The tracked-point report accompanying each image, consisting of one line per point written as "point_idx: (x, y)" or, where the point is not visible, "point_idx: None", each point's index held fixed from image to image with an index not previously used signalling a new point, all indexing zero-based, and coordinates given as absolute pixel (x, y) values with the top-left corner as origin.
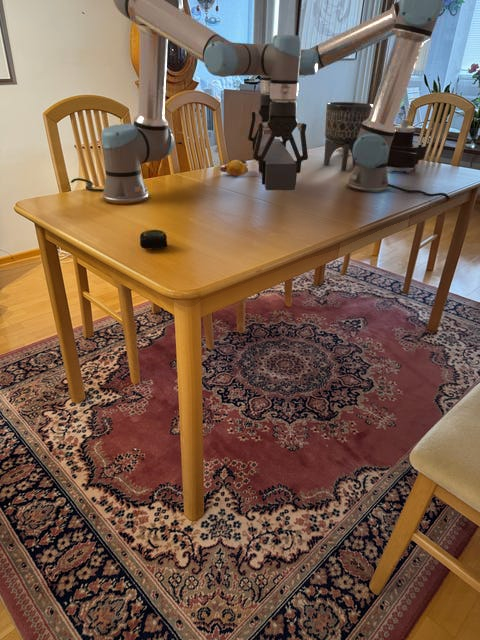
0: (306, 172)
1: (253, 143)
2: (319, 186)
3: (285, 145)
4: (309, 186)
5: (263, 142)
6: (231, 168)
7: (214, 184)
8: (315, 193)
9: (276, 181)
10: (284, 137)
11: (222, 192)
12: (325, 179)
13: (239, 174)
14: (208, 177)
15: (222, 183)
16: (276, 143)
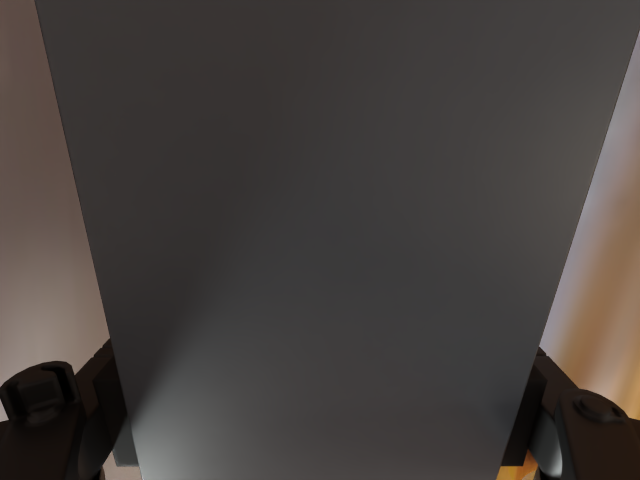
0: (110, 472)
1: (568, 387)
2: (26, 219)
3: (89, 366)
4: (82, 218)
5: (466, 260)
6: None
7: (621, 251)
8: (35, 46)
9: None
10: (14, 454)
11: (632, 57)
12: (8, 359)
13: None
14: (608, 386)
15: (568, 273)
16: (200, 115)
